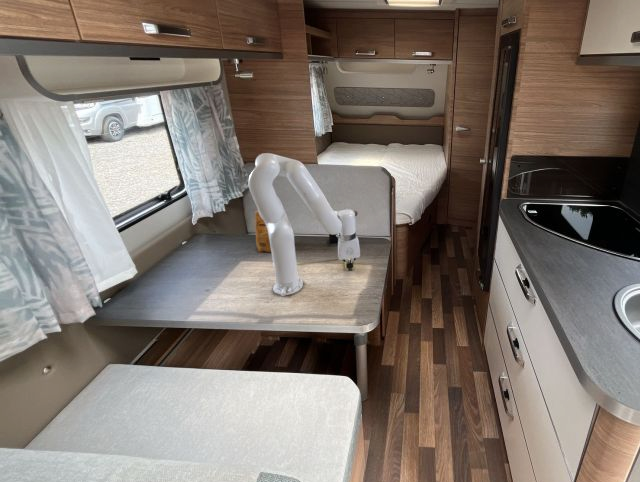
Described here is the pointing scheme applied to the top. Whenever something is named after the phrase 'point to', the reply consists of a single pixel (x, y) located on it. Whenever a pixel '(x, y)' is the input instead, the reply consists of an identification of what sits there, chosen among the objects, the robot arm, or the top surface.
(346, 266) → the butter
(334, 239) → the slicer
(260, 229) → the coffee package
